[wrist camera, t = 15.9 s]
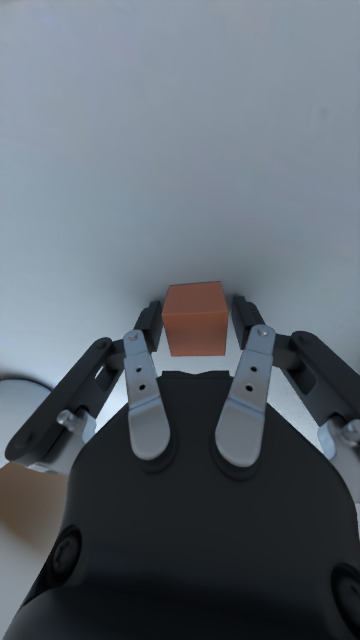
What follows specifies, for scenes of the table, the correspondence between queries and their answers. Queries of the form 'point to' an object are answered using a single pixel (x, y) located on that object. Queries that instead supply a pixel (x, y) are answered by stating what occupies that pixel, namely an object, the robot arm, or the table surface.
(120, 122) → the table surface
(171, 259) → the table surface
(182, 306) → the block
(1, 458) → the white rounded teardrop
